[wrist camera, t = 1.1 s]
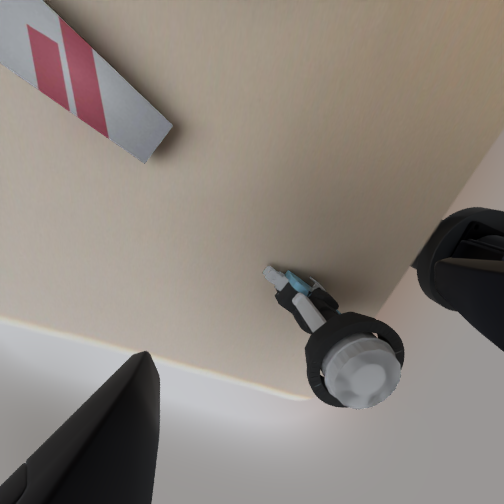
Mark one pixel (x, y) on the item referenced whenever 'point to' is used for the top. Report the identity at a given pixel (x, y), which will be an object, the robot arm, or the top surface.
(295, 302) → the push button
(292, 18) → the top surface
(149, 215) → the top surface
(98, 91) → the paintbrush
